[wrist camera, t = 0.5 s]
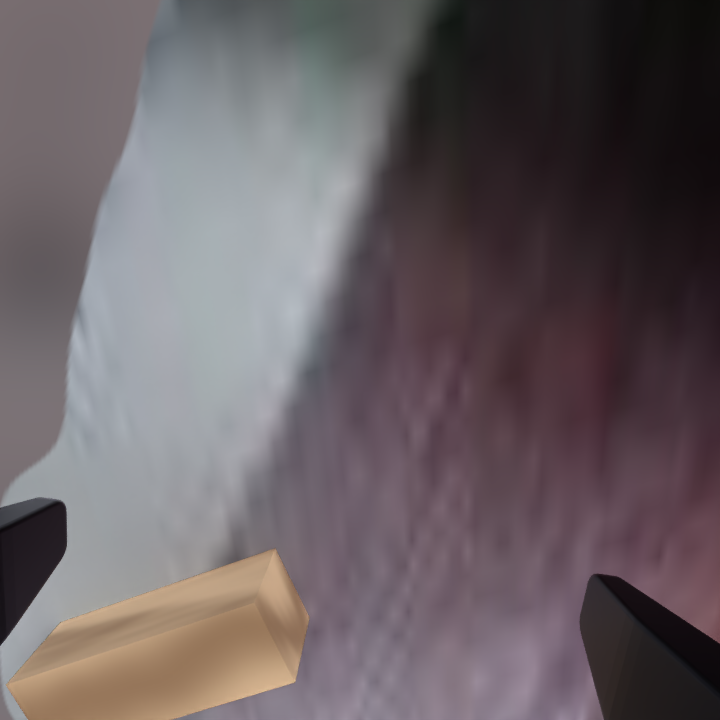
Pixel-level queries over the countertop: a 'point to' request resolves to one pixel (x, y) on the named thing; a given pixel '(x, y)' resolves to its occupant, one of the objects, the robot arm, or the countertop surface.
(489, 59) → the countertop surface
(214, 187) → the countertop surface
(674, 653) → the robot arm
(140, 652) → the oak bar
